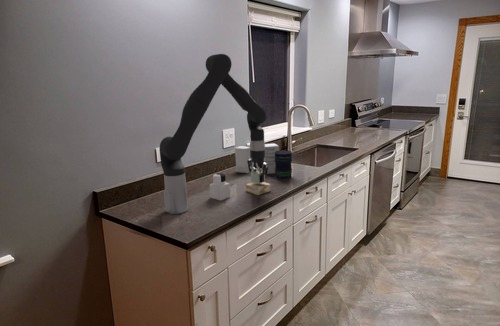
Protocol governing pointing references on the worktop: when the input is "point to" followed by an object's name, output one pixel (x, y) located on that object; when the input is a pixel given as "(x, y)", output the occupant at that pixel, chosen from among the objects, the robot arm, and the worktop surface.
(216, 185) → the medicine bottle
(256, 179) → the sage cube
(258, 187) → the maple box
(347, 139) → the worktop surface
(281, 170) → the storage jar
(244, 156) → the skincare box
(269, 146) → the supplement box
